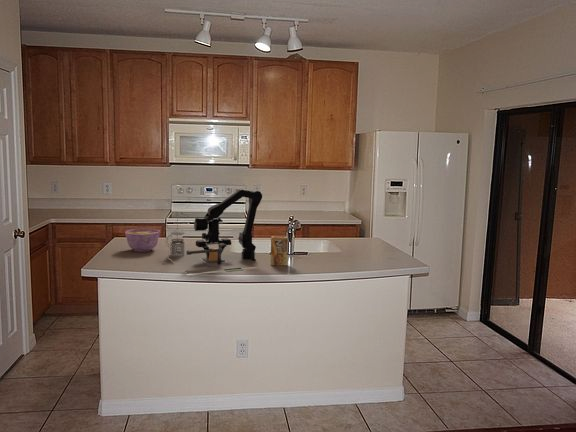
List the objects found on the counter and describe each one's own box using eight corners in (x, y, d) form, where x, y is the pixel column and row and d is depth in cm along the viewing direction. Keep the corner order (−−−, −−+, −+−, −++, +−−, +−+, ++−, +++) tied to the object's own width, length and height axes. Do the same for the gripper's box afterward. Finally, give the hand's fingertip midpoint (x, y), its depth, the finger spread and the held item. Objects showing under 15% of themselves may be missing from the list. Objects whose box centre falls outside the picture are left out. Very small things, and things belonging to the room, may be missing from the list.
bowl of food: (119, 249, 297) (119, 230, 296) (150, 245, 311) (150, 227, 309) (134, 255, 283) (133, 235, 281) (166, 251, 296) (166, 232, 294)
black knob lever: (221, 262, 266) (221, 248, 265) (222, 263, 264) (222, 248, 263) (186, 266, 258) (185, 250, 256) (187, 267, 255) (187, 251, 254)
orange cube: (216, 258, 277) (216, 248, 276) (220, 261, 271) (220, 250, 270) (206, 259, 274) (206, 249, 273) (210, 262, 268) (210, 251, 268)
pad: (236, 266, 266) (236, 265, 266) (243, 269, 258) (243, 269, 258) (220, 267, 262) (220, 266, 261) (226, 271, 254) (226, 270, 254)
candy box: (286, 263, 274) (287, 236, 271) (286, 265, 269) (287, 237, 267) (270, 263, 274) (271, 236, 271) (270, 265, 269) (271, 237, 267)
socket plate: (218, 258, 282) (218, 255, 282) (231, 266, 265) (231, 262, 265) (198, 259, 277) (198, 256, 277) (210, 268, 259) (210, 265, 259)
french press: (182, 259, 278) (181, 214, 274) (162, 257, 280) (162, 213, 277) (189, 255, 288) (188, 212, 284) (170, 253, 290) (169, 211, 286)
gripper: (224, 226, 281) (224, 253, 284) (192, 228, 273) (192, 256, 275) (231, 229, 272) (231, 257, 274) (198, 232, 263) (198, 260, 265)
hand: (213, 258), depth 272 cm, fingers closed on orange cube, 6 cm apart
